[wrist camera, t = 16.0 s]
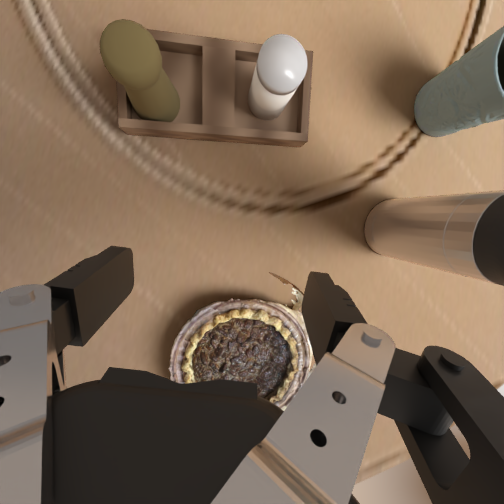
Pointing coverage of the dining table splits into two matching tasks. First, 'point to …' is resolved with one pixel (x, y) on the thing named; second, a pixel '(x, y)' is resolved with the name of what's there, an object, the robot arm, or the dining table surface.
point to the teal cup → (465, 91)
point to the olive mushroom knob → (139, 70)
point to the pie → (246, 347)
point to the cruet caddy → (218, 95)
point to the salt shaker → (276, 76)
